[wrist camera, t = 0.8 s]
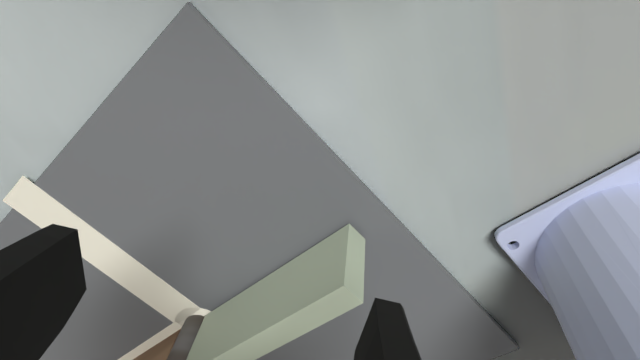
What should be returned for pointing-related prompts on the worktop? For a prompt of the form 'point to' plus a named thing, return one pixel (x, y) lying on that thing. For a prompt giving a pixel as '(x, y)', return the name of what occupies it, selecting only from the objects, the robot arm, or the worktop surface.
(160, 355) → the walnut fence section
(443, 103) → the worktop surface
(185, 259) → the card
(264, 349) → the sage fence panel
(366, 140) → the worktop surface
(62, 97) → the worktop surface
